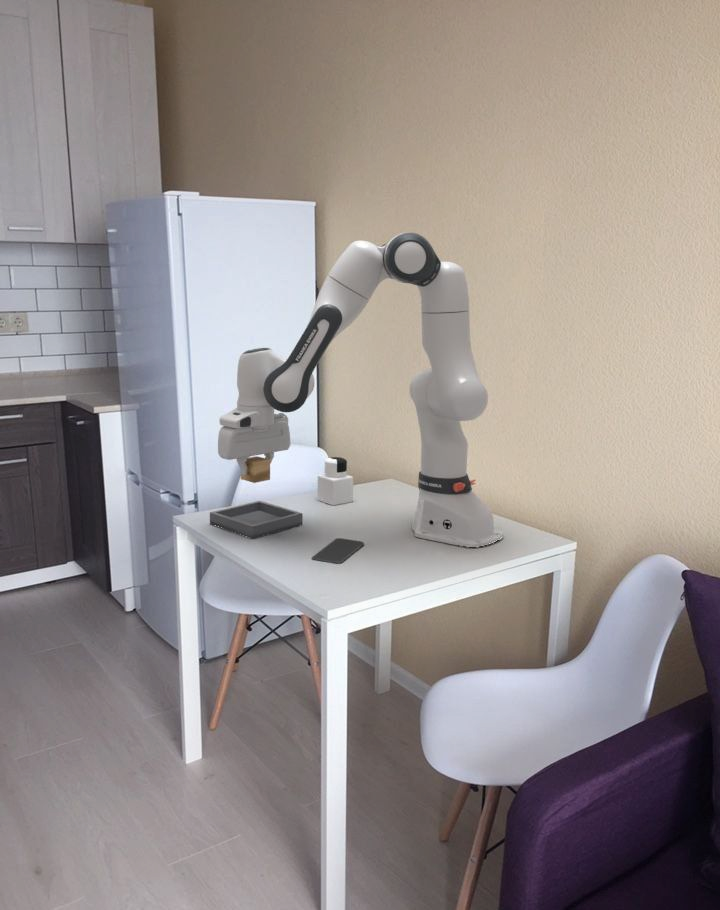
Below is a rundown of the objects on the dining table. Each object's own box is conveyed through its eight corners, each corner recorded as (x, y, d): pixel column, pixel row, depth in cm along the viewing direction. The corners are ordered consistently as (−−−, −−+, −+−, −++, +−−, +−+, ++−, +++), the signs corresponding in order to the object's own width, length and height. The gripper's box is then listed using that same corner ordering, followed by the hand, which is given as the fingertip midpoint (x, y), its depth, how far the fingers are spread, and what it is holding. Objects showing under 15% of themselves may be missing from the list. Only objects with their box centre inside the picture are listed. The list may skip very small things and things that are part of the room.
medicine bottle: (337, 496, 227) (338, 454, 224) (353, 501, 221) (354, 459, 219) (316, 500, 222) (317, 457, 220) (332, 505, 217) (333, 462, 214)
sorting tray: (302, 525, 199) (302, 513, 198) (252, 539, 187) (252, 526, 187) (259, 511, 210) (259, 500, 209) (209, 524, 198) (209, 512, 197)
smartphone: (309, 558, 175) (336, 537, 188) (309, 562, 175) (336, 541, 188) (341, 562, 172) (366, 541, 186) (341, 567, 172) (365, 545, 186)
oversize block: (270, 479, 196) (270, 459, 195) (254, 482, 193) (254, 462, 192) (256, 476, 199) (256, 456, 198) (240, 479, 196) (240, 459, 195)
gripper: (279, 410, 202) (278, 464, 205) (213, 418, 187) (214, 476, 190) (296, 413, 198) (295, 468, 201) (231, 422, 183) (231, 481, 186)
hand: (255, 472), depth 196 cm, fingers closed on oversize block, 5 cm apart
